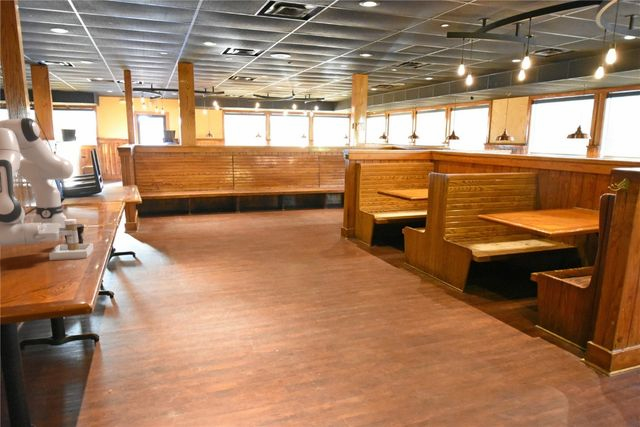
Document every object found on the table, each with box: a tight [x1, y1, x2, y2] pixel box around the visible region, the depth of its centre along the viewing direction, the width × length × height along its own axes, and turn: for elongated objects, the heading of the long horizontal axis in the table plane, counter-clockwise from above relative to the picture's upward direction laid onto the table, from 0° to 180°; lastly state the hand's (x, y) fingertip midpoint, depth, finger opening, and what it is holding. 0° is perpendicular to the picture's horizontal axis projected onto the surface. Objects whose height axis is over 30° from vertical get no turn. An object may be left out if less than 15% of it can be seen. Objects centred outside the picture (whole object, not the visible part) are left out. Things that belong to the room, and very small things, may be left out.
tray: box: [48, 242, 94, 261], centre depth 188 cm, size 14×14×3 cm
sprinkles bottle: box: [64, 218, 79, 251], centre depth 186 cm, size 5×5×13 cm
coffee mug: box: [63, 223, 85, 245], centre depth 202 cm, size 12×9×10 cm
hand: (72, 230), depth 186 cm, fingers closed on sprinkles bottle, 4 cm apart
